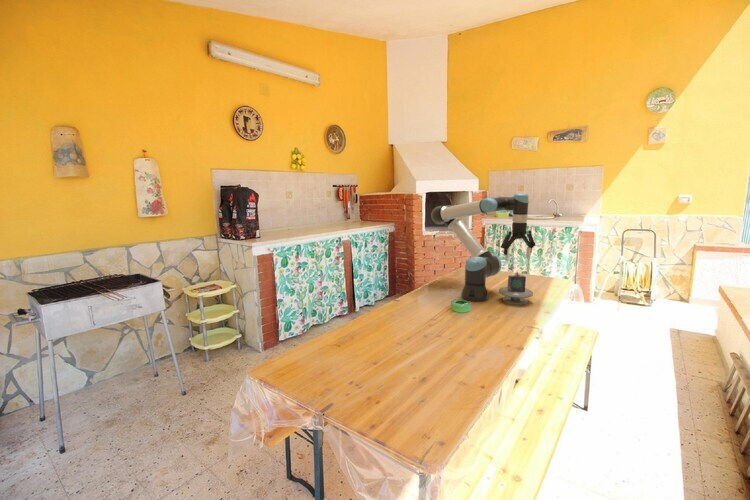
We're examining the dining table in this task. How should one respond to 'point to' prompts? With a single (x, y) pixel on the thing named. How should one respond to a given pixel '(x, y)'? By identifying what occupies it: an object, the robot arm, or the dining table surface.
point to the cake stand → (515, 296)
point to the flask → (516, 283)
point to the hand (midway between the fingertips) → (517, 259)
